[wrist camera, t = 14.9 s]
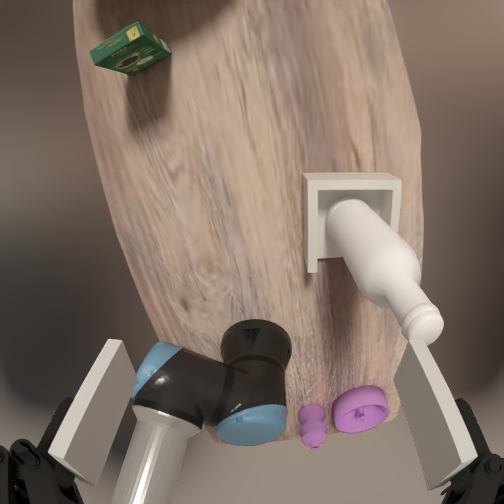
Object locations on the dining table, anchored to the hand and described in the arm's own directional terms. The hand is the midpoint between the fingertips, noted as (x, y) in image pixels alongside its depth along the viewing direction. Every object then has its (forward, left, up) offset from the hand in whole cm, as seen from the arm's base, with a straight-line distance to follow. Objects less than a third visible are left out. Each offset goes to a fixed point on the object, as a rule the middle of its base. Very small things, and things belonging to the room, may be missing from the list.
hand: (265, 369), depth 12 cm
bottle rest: (+4, -14, -39) cm, 41 cm away
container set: (-34, -53, -39) cm, 74 cm away
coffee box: (+7, +29, -39) cm, 49 cm away
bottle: (+4, -14, -38) cm, 41 cm away
